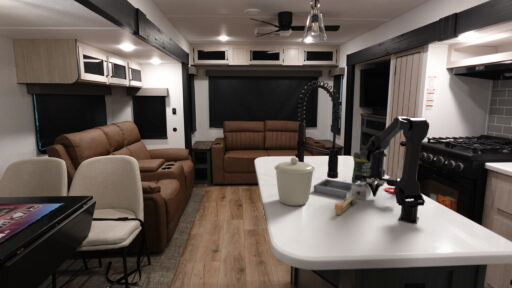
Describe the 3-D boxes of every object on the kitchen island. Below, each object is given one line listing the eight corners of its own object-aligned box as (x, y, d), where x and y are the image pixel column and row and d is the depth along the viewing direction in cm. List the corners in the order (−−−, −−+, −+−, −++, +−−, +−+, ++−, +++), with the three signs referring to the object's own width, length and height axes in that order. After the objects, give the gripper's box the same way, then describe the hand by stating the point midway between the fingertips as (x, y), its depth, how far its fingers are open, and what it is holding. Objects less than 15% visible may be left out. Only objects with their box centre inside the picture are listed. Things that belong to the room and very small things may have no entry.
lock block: (365, 200, 133) (366, 186, 132) (350, 197, 137) (351, 183, 136) (370, 195, 141) (371, 181, 140) (356, 192, 145) (357, 179, 144)
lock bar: (340, 215, 116) (340, 205, 115) (334, 214, 117) (334, 204, 116) (355, 201, 132) (356, 192, 131) (350, 200, 133) (351, 191, 132)
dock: (353, 206, 126) (354, 198, 126) (307, 196, 140) (307, 189, 139) (368, 192, 144) (368, 186, 144) (325, 184, 158) (325, 178, 157)
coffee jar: (357, 187, 153) (359, 153, 151) (349, 182, 161) (351, 150, 158) (373, 186, 155) (375, 152, 152) (364, 181, 163) (366, 150, 160)
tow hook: (382, 188, 152) (387, 193, 143) (383, 165, 150) (389, 168, 141) (399, 189, 151) (405, 194, 142) (400, 165, 149) (407, 169, 140)
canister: (314, 197, 138) (316, 154, 135) (311, 211, 121) (313, 162, 117) (278, 194, 143) (278, 152, 139) (270, 207, 126) (270, 160, 122)
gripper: (402, 164, 134) (399, 195, 136) (361, 159, 145) (359, 188, 147) (397, 168, 125) (394, 202, 127) (354, 163, 136) (352, 194, 138)
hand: (374, 196), depth 135 cm, fingers closed
